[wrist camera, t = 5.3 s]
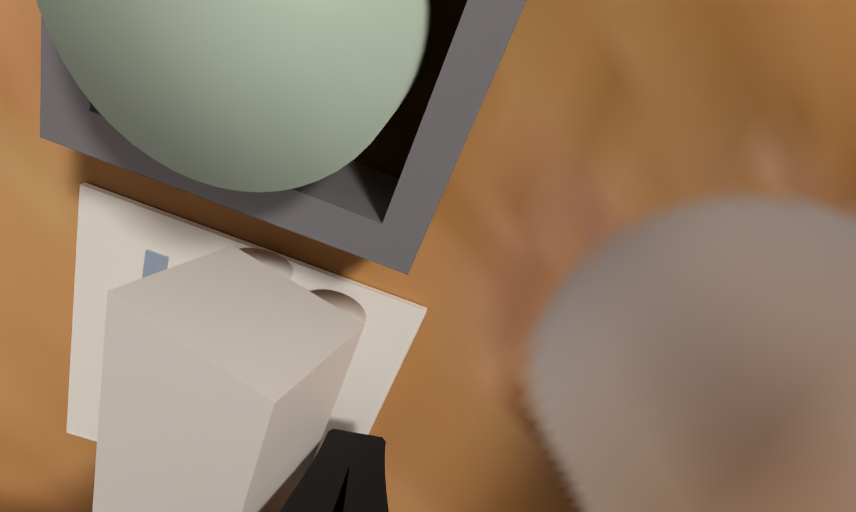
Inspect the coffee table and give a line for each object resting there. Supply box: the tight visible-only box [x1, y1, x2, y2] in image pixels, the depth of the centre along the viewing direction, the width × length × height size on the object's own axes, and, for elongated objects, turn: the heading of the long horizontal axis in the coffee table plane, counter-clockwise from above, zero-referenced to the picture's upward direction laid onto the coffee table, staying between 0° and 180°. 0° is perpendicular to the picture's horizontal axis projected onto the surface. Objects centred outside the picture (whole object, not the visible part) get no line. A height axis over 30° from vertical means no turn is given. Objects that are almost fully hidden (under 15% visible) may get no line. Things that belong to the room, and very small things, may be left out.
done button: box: [37, 0, 432, 192], centre depth 6 cm, size 4×4×3 cm
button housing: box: [40, 0, 527, 275], centre depth 7 cm, size 6×6×2 cm
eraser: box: [92, 245, 366, 512], centre depth 10 cm, size 8×3×3 cm, turn 159°
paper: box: [67, 182, 427, 458], centre depth 12 cm, size 8×8×1 cm
